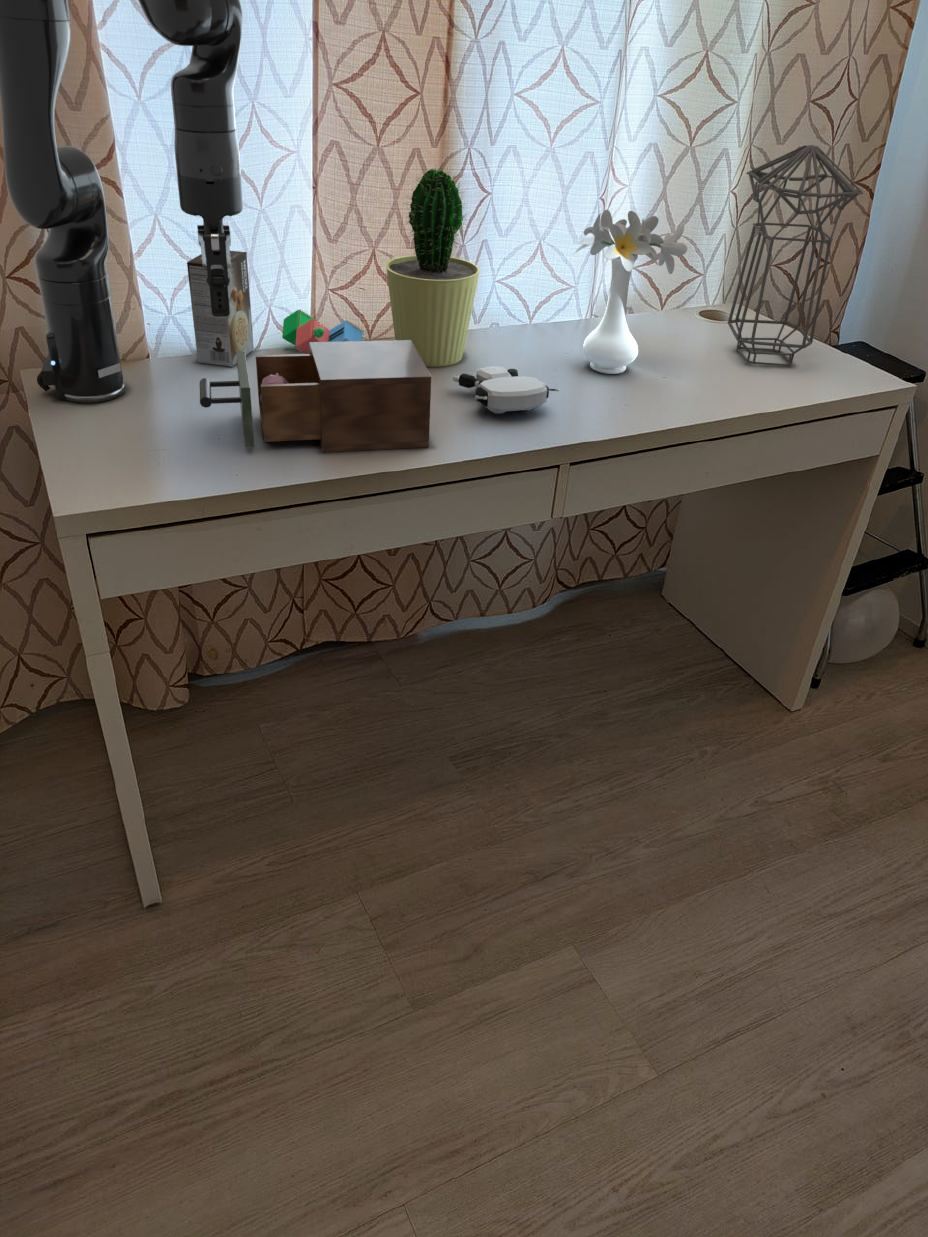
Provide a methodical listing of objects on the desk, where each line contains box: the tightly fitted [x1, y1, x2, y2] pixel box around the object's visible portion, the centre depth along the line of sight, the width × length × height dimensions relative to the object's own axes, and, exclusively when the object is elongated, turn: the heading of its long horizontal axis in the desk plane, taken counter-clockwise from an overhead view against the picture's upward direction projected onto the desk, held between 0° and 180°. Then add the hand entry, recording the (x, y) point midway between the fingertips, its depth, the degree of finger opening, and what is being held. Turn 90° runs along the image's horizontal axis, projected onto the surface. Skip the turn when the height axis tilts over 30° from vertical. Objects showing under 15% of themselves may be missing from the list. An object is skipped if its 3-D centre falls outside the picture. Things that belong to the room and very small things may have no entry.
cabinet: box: [309, 339, 432, 453], centre depth 137 cm, size 15×15×10 cm
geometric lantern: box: [727, 144, 864, 367], centre depth 165 cm, size 16×16×35 cm
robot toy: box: [452, 365, 560, 415], centre depth 150 cm, size 12×4×15 cm
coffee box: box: [186, 250, 255, 368], centre depth 156 cm, size 9×6×16 cm
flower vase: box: [572, 209, 688, 375], centre depth 160 cm, size 13×18×25 cm
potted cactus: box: [384, 165, 481, 368], centre depth 158 cm, size 15×15×30 cm
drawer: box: [198, 352, 322, 448], centre depth 134 cm, size 19×14×8 cm
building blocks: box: [281, 309, 364, 354], centre depth 163 cm, size 8×8×12 cm
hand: (219, 305), depth 126 cm, fingers open, 8 cm apart
